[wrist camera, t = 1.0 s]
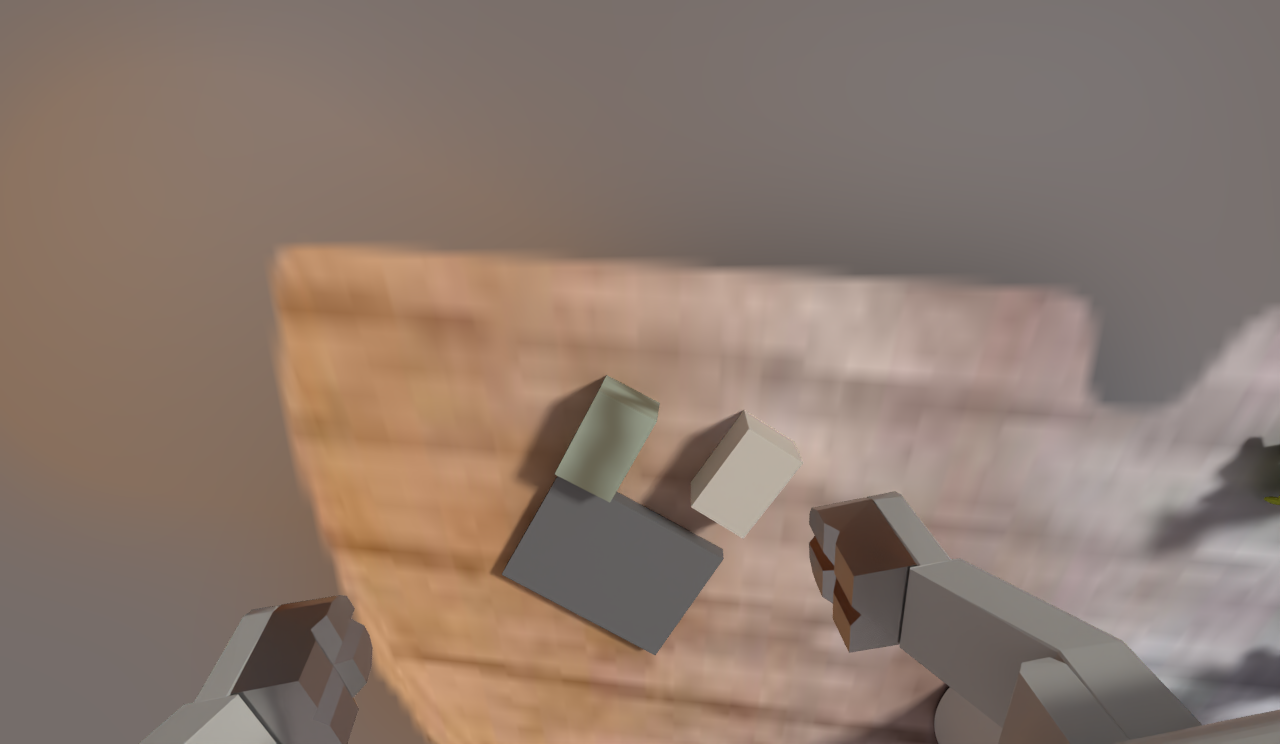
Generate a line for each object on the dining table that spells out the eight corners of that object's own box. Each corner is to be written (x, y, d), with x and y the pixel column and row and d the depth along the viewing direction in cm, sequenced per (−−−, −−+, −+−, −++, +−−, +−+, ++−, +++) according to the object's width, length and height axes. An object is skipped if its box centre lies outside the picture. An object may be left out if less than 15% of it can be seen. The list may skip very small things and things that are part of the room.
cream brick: (793, 440, 49) (803, 462, 45) (738, 510, 51) (743, 538, 47) (743, 409, 49) (749, 428, 45) (690, 481, 51) (690, 507, 47)
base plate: (722, 549, 52) (723, 558, 51) (656, 643, 56) (655, 655, 54) (564, 463, 51) (561, 470, 50) (506, 564, 55) (501, 574, 53)
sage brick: (659, 402, 49) (656, 421, 45) (616, 477, 52) (610, 502, 47) (606, 374, 49) (598, 390, 45) (566, 451, 51) (554, 474, 47)
